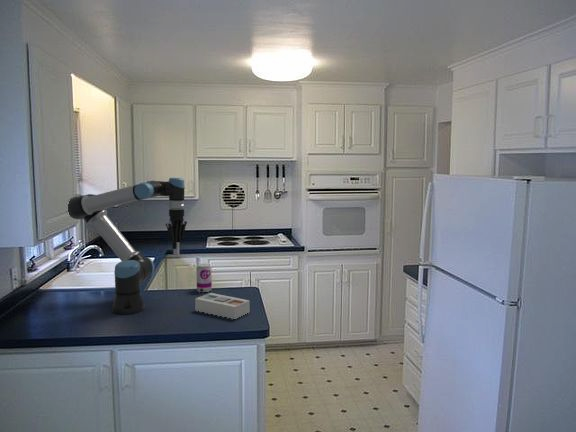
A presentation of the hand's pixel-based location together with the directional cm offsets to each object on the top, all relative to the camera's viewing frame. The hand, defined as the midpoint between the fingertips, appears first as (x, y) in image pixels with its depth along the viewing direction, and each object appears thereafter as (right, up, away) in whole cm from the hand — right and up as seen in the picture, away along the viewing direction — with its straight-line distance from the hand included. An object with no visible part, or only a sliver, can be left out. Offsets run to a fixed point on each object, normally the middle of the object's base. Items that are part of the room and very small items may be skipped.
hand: (176, 254), depth 245 cm
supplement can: (+10, -23, +26) cm, 36 cm away
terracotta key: (+31, -27, -13) cm, 43 cm away
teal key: (+18, -25, -5) cm, 31 cm away
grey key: (+25, -25, -9) cm, 36 cm away
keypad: (+25, -27, -9) cm, 38 cm away
